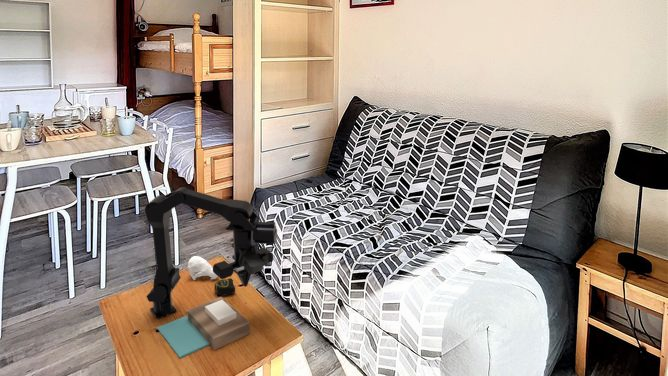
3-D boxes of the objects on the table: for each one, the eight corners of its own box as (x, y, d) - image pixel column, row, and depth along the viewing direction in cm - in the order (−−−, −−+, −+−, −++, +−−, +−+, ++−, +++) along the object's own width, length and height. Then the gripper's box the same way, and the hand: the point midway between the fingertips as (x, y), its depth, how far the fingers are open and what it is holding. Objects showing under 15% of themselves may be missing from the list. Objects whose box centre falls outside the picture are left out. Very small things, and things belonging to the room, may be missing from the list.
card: (205, 311, 139) (204, 306, 138) (222, 304, 142) (222, 299, 142) (218, 325, 132) (218, 320, 132) (236, 318, 136) (236, 312, 135)
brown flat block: (188, 320, 140) (186, 310, 139) (222, 306, 148) (221, 296, 147) (214, 350, 128) (213, 338, 126) (250, 333, 135) (249, 322, 134)
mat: (157, 328, 136) (157, 327, 136) (188, 316, 143) (188, 315, 142) (180, 358, 124) (179, 356, 124) (212, 343, 131) (212, 341, 130)
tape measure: (235, 295, 155) (235, 286, 154) (215, 298, 153) (215, 289, 151) (233, 285, 161) (232, 276, 160) (214, 288, 159) (213, 279, 158)
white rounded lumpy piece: (193, 252, 166) (222, 258, 165) (193, 271, 169) (222, 277, 168) (185, 259, 161) (215, 266, 159) (185, 279, 163) (215, 285, 162)
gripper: (228, 261, 124) (231, 308, 129) (283, 242, 136) (283, 286, 141) (210, 246, 132) (213, 292, 137) (263, 230, 143) (264, 272, 149)
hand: (245, 285), depth 141 cm, fingers closed
